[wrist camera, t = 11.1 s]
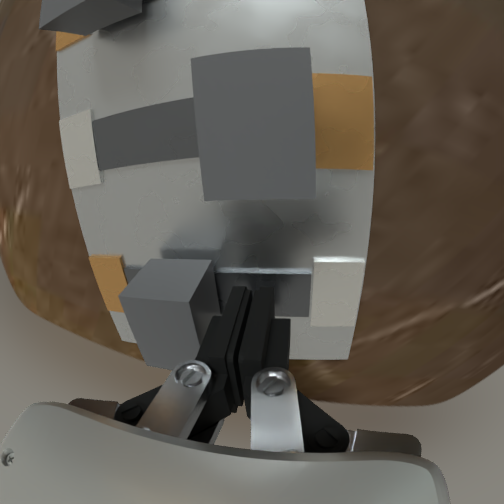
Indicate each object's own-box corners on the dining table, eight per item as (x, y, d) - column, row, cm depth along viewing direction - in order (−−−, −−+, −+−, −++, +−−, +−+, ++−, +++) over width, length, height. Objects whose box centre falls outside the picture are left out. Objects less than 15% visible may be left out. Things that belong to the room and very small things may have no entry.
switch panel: (333, -79, 5) (337, -101, 3) (344, 335, 16) (347, 361, 14) (86, -27, 8) (64, -35, 6) (134, 321, 18) (120, 342, 17)
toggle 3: (306, 66, 8) (309, 47, 5) (310, 175, 10) (315, 199, 7) (220, 71, 9) (190, 58, 6) (228, 177, 10) (204, 201, 8)
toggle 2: (211, 259, 12) (188, 302, 9) (223, 329, 14) (207, 375, 11) (150, 258, 13) (118, 296, 10) (169, 324, 14) (146, 365, 12)
